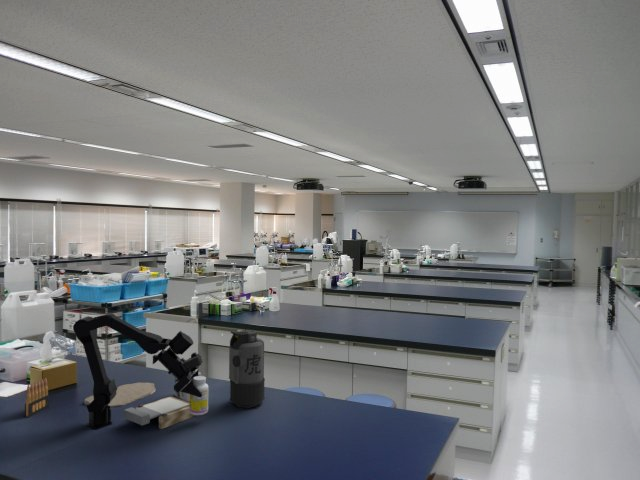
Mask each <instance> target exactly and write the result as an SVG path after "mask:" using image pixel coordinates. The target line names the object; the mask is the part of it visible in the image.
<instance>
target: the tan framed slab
mask: <svg viewBox="0 0 640 480" xmlns="http://www.w3.org/2000/svg"><path fill="white" fill-rule="evenodd" d="M169 397H170V398H173V399H176V400H179V401H182V402H185V403H187V404H189V406H187V407H184V408H182V409H179V410H176V411H173V412H171V413H168V414H165V413H163V414H162V415H161V416H158V429H160V430H163V429H166V428H168V427H171V426H173V425H176V424H178V423H181V422H184V421H186V420H189V419H191V418H193V417H196V416H198V415H193V414H191V413H190V401H189V402H187V401H185V400H183V399H181V398H178V397H175V396H171V395H170V396H167V397H163V398H161V399H158V400H155V401H152V402H149V403H146V404H141V403H140V404H138V406H136V407H134V408H135V409H138V408H141V407H143V406H145V405H148V404H151V403H154V402H157V401H160V400H163V399H166V398H169Z"/></svg>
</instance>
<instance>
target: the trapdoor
mask: <svg viewBox="0 0 640 480" xmlns="http://www.w3.org/2000/svg"><path fill="white" fill-rule="evenodd" d="M168 397H169V398H167V397H165V398H166V399H164V398H162V399H163V400H161V399H159V400H160V401H158V400H156V401H157V402H155V401H153V402H154V403H152V402H150V403H151V404H148V403H147V404H148V405H145V404H144V405H145V406H143V407H141V408H138V409H135V408H136V407H128V408H126V409H124V410H123V418H124V419H126V420H127V421H131V422H133V423H135V424H137V425H140V426H145V425H148V424H150V423H151V422H150V421H151V420H152V419H154V418H157V417H158V418H159V417H160V416H162V414H163V413H165V414H169V413H171V412H174V411H176V410H179V409H182V408H184V407H187V406H189V404H187V403H185V402H182V401H179V400H176V399H173V398H170V396H168Z"/></svg>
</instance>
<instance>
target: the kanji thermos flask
mask: <svg viewBox="0 0 640 480" xmlns="http://www.w3.org/2000/svg"><path fill="white" fill-rule="evenodd" d="M230 333H231V334H232V336H231V338H230V340H229V347H228V349H229V350H228V353H229V354H228V355H229V357H228V359H229V361H228V363H229V364H228V379H229V382H230V385H229V387H230V388H229V389H230V390H229V391H230V395H229V401H230V402H231V403H233V404H234V405H235V406H236V407H239V408H245V409H246V408H248V409H249V408H252V407H257V406H258V405H259V404H260V403H263V401H265V377H264V376H265V341H264V340H262V339H261V338H258V337H257V332H256V331H253V330H250V329H249V330H241V331H239V330H238V331H230Z"/></svg>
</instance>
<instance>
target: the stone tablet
mask: <svg viewBox="0 0 640 480" xmlns="http://www.w3.org/2000/svg"><path fill="white" fill-rule="evenodd" d="M116 387H117V386H116ZM156 391H157V390H156V386H155V383H153V382H134V383H127V384H122V385H120V386H118V387H117V390H116V396H115V397H114V398H113V400H112V401H111V402H110V404H108V405H109V406H110V408H114V407H121V406H125V405H129V404H131V403H133V402H136V401H139V400H141V399H144V398H146V397H148V396H150V395H151V396H152V395H153V394H154V393H155V392H156ZM93 400H94V397H93V394H92V395H90V396H87V397H86V398H85V399H84V401H83V402H84V405H87V406H88V405H89V404H90V403H91V402H92V401H93Z"/></svg>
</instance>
